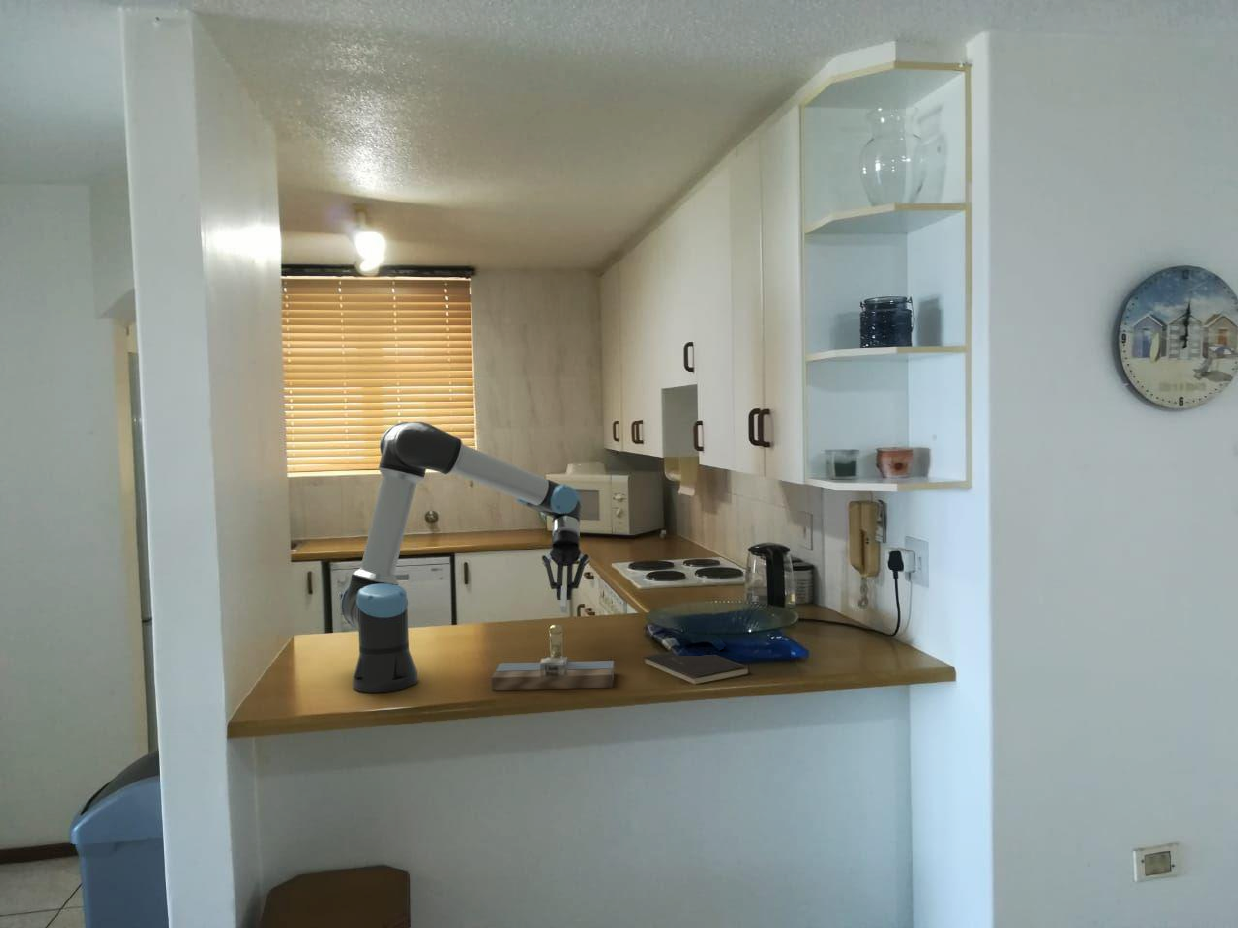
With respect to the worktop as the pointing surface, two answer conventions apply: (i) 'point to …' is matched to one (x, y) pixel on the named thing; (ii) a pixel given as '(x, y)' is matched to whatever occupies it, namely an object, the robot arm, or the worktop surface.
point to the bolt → (555, 643)
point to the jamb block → (552, 678)
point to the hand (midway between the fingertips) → (563, 609)
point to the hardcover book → (696, 666)
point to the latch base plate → (567, 667)
